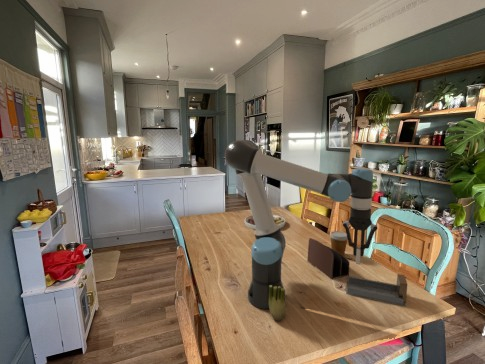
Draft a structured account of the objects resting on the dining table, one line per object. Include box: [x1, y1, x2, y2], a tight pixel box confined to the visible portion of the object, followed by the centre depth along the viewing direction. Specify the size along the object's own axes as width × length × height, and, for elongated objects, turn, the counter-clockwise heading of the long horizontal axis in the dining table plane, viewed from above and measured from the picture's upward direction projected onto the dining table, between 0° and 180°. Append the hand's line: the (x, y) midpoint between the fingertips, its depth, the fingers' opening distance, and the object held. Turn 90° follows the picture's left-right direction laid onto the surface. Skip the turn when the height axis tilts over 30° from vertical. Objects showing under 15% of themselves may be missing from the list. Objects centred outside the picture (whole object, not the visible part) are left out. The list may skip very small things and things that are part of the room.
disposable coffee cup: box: [329, 230, 348, 257], centre depth 141 cm, size 10×10×12 cm
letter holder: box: [307, 237, 350, 280], centre depth 126 cm, size 10×20×14 cm, turn 18°
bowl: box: [244, 213, 286, 231], centre depth 190 cm, size 30×30×8 cm
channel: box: [345, 273, 408, 307], centre depth 105 cm, size 10×21×9 cm, turn 66°
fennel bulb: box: [268, 285, 287, 321], centre depth 92 cm, size 6×5×12 cm
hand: (357, 262), depth 106 cm, fingers closed
